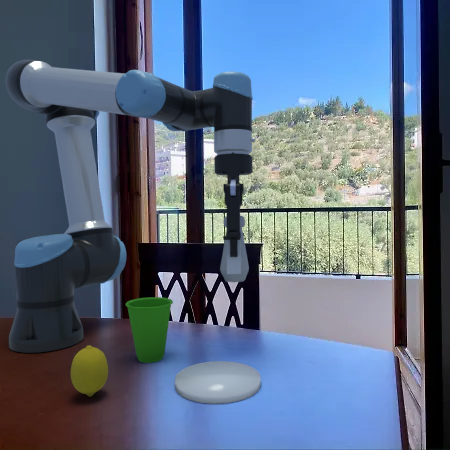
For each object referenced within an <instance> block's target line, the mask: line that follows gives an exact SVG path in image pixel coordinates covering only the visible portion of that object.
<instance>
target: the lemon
mask: <svg viewBox="0 0 450 450" xmlns="http://www.w3.org/2000/svg"><path fill="white" fill-rule="evenodd" d="M106 357H107V356H106V355H105V353H104V352H103V351H102V350H101V349H99V348H98V347H94V346H92V345H86V347H84V348H81V349H80V350H79V351H78V352H77V353H76V354H75V356H74V358H73V359H72V362H71V366H70V380H71V383H72V386H73V387H74V388H75V390H76V391H78V392H79V393H81V394H82V395H83V394H85V395H87V397H93V396H94V394H96V393H97V392H99V391H100V390H101V389H102V388H103V387H104V386H105V385H106V382H107V381H108V376H109V364H108V360H107V358H106Z"/></svg>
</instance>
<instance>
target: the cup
mask: <svg viewBox="0 0 450 450" xmlns="http://www.w3.org/2000/svg"><path fill="white" fill-rule="evenodd" d="M172 304H174V300H173V299H171V298H169V297H159V296H154V297H153V296H151V297H150V296H149V297H141V298H140V297H139V298H135V299H131V300H128V301H127V302H126V303H125V307H127V311H128V317H129V322H130V328H131V333H132V339H133V343H134V349H135V354H136V358H137V360H138V361H139V362H141V363H145V364H146V363H151V364H152V363H157V362H160V361H162V360H163V358H164V356H165V354H166V353H165V351H166V344H167V337H168V331H169V329H168V328H169V322H170V314H171V307H172Z"/></svg>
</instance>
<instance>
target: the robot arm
mask: <svg viewBox="0 0 450 450" xmlns="http://www.w3.org/2000/svg"><path fill="white" fill-rule="evenodd" d="M213 77H214V78H213V84H212V87H210V88H205V89H200V90H193V91H192V90H189V89H187V88H184V87H182V86H179V85H177V84H174V83H172V82H169V81H167V80H165V79H163V78H161V77H158V76H156V75H155V74H153V73H151V72H147V71H142V70H139V69H131V70H128V71H127V72H126V73H121V72H112V71H111V72H110V71H100V70H99V71H98V70H88V69H87V70H86V69H77V68H63V67H57V66H53V65H51V64H49V63H48V62H46V61H45V62H44V61H41V60H35V59H22V60H18V61H17V62H15V63H13V64H12V65H11V66H10V67H9V68H8V70H7V72H6V76H5V79H4V80H5V87H6V91H7V93H8V95H9V97H10V98H11V99H12V100H13V102H14V103H16V105H18V106H19V107H21V108H23V109H24V110H28V111H30V112H33V113H37V114H42V115H44V116H45V122H46V127H47V128H48V129H49V130H50V131H52V132H53V133H54V137H55V143H56V150H57V151H56V152H57V157H58V163H59V169H60V175H61V182H62V187H63V195H64V200H65V207H66V213H67V214H66V215H67V220H68V228H67V229H66V231H65V232H64V233H57V234H54V233H53V234H48V235H39V236H34V237H31V238H26V239H24V240H22V241H20V242H18V244H17V245H16V246H15V250H14V252H15V253H14V261H13V264H14V267H15V269H14V270H15V292H16V293H15V294H16V295H15V297H16V312H15V315H14V319H13V323H12V325H11V328H10V332H9V335H8V348H9V349H10V350H11V351H13V352H17V353H26V354H27V353H28V354H29V353H30V354H31V353H33V354H34V353H44V352H51V351H56V350H61V349H65V348H68V347H71V346H74V345H77V344H79V343H80V342H81V341H83V339H84V328H83V327H84V326H83V324H82V321H81V319H80V315H79V314H78V310H77V309H76V305H75V298H74V297H75V289H79V288H84V287H89V286H93V285H94V286H95V285H100V284H105V283H107V282H110V281H113V280H115V279H117V278H118V277H119V276H120V275H121V273H122V271H124V268H125V266H126V262H127V250H126V246H125V244H124V242H123V241H121V239H120V238H119V237H118V236H115V235H114V231H113V226H111V225H110V224H109V223H108V222H107V221H106V220H105V213H104V208H103V202H102V194H101V190H100V189H101V188H100V183H99V175H98V170H97V163H96V158H95V152H94V147H93V146H94V145H93V139H92V133H91V129H93V128H94V126H95V124H96V119H97V118H98V117H99V115H100V112H103V113H109V114H118V115H124V116H130V117H136V118H140V119H141V118H142V119H147V120H152V121H156V122H160V123H162V124H163V125H164V126H165V127H166V128H167V130H169V131H170V132H171V131H172V132H188V131H192V130H194V131H195V130H199V129H206V128H213V131H214V132H213V150H214V152H213V153H215V154H216V155H215V156H214V159H213V160H214V174H215V175H217V176H227V177H226V178H227V180H226V181H227V183H223V187H222V189H223V193H224V206H226V216H227V227H226V230H227V233H226V232H225V235H223V237H222V238H223V239H222V241H225V240H227V274H241V240H240V238H241V233H240V216H241V206H242V205H243V193H244V190H245V189H244V183H240V176H250V175H251V174H252V173H253V156H252V155H251V153H252V152H253V143H254V142H256V138H255V137H254V136H252V135H253V128H252V127H253V125H252V123H253V115H252V114H253V100H254V98H253V92H252V91H253V90H252V81H251V80H252V79H251V78H250V76H249V75H248V74H246V73H245V72H241V71H234V70H231V71H222V72H220V73H219V74H218V73H217V74H216V75H215V76H213ZM243 236H244V237H245V232H243Z"/></svg>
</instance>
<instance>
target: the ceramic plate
mask: <svg viewBox="0 0 450 450" xmlns="http://www.w3.org/2000/svg"><path fill="white" fill-rule="evenodd" d="M261 382H262V381H261V374H260V373H259V371H258V370H257V369H256V368H254V367H252V366H250V365H248V364H244V363H241V362H236V361H224V360H214V361H205V362H199V363H196V364H192V365H189V366H187V367H184V368H183V369H181V370H179V372H177V374H176V375H175V378H174V387H175V388H174V389H175V391H176V392H177V394H178V395H179V396H181V397H182V398H184V399H186V400H188V401H192V402H196V403H202V404H210V405H213V404H214V405H220V404H224V405H225V404H230V403H231V404H232V403H235V402H240V401H243V400H246V399H248V398H251V397H253V396H254V395H256V394H257V393H258V392H259V391H260V389H261Z"/></svg>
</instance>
